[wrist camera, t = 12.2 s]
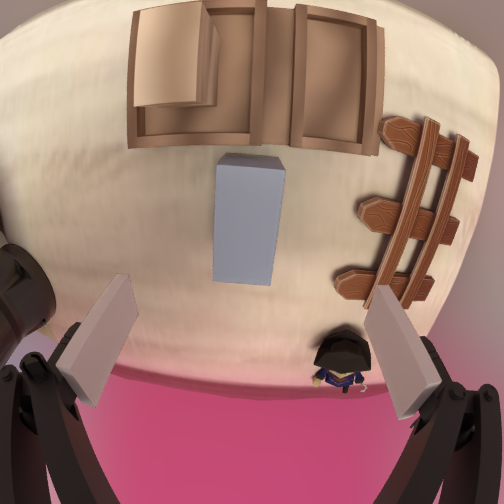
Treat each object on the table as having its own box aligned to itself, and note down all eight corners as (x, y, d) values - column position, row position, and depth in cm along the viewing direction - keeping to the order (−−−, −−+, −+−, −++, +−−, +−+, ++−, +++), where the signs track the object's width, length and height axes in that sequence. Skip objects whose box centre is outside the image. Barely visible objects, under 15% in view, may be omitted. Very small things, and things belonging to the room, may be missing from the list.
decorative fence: (474, 146, 23) (383, 100, 21) (484, 149, 21) (392, 100, 19) (417, 302, 34) (327, 300, 32) (423, 309, 32) (332, 309, 30)
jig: (136, 144, 25) (123, 149, 22) (141, 21, 18) (128, 12, 15) (373, 154, 25) (386, 159, 22) (379, 30, 18) (392, 23, 15)
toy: (310, 394, 41) (307, 362, 31) (317, 361, 45) (316, 319, 35) (363, 400, 38) (381, 369, 28) (368, 366, 42) (384, 324, 32)
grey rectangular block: (221, 245, 30) (212, 281, 24) (226, 152, 25) (216, 164, 19) (267, 248, 30) (270, 285, 24) (278, 157, 25) (285, 170, 19)
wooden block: (174, 108, 22) (133, 106, 14) (177, 40, 19) (140, 10, 11) (217, 106, 22) (195, 100, 14) (220, 37, 19) (201, 1, 11)
